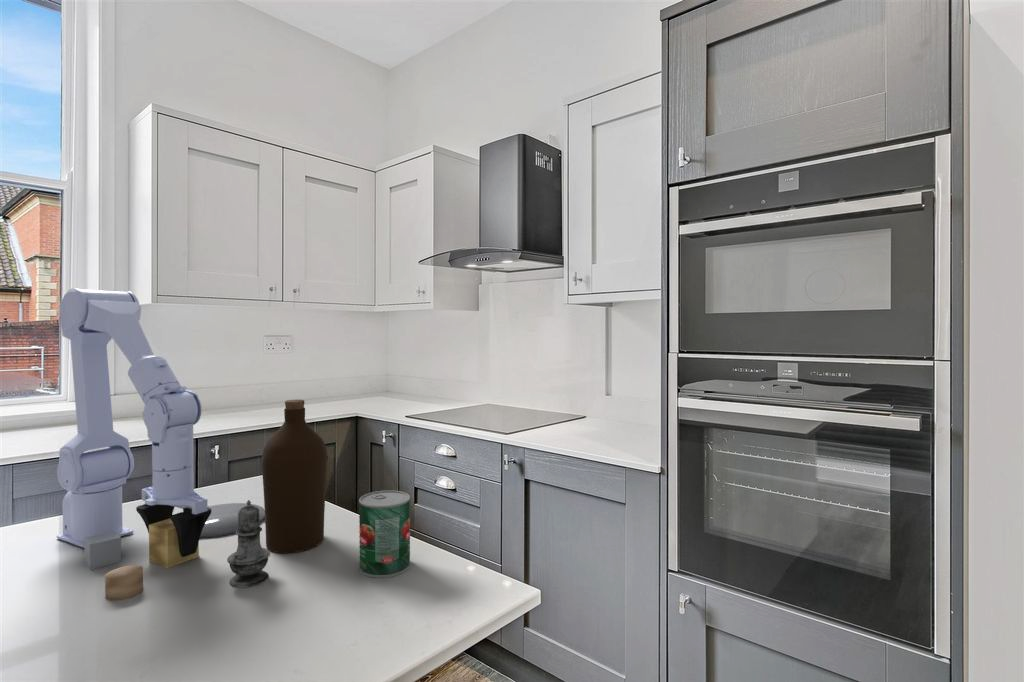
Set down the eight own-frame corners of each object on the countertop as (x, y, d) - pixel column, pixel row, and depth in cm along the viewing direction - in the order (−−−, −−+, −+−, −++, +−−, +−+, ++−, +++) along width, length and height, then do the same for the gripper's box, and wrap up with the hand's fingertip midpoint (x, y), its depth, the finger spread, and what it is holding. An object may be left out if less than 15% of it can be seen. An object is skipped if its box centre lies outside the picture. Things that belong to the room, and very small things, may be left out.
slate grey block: (84, 562, 87) (84, 537, 87) (114, 554, 90) (114, 530, 90) (90, 569, 85) (89, 544, 85) (121, 561, 88) (120, 537, 88)
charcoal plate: (151, 527, 102) (151, 522, 102) (230, 503, 116) (230, 498, 116) (205, 544, 95) (205, 538, 95) (282, 515, 109) (282, 511, 109)
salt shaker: (253, 590, 78) (252, 507, 78) (217, 586, 80) (217, 504, 79) (278, 572, 84) (278, 495, 84) (245, 568, 85) (244, 492, 85)
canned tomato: (420, 566, 87) (420, 497, 86) (377, 583, 81) (377, 509, 81) (391, 551, 92) (391, 487, 92) (349, 566, 86) (349, 497, 86)
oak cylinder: (98, 596, 77) (98, 575, 77) (132, 583, 81) (132, 563, 80) (116, 603, 75) (115, 582, 75) (149, 589, 79) (149, 569, 78)
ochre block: (149, 561, 88) (148, 524, 88) (180, 550, 92) (179, 515, 92) (167, 568, 85) (167, 530, 85) (198, 556, 90) (198, 520, 90)
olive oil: (292, 560, 89) (291, 406, 88) (248, 547, 93) (247, 402, 93) (340, 537, 98) (340, 399, 97) (297, 527, 103) (297, 395, 102)
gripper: (121, 466, 88) (122, 550, 89) (175, 479, 81) (176, 568, 82) (165, 457, 94) (166, 535, 95) (219, 468, 88) (220, 551, 88)
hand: (174, 549), depth 89 cm, fingers open, 7 cm apart
